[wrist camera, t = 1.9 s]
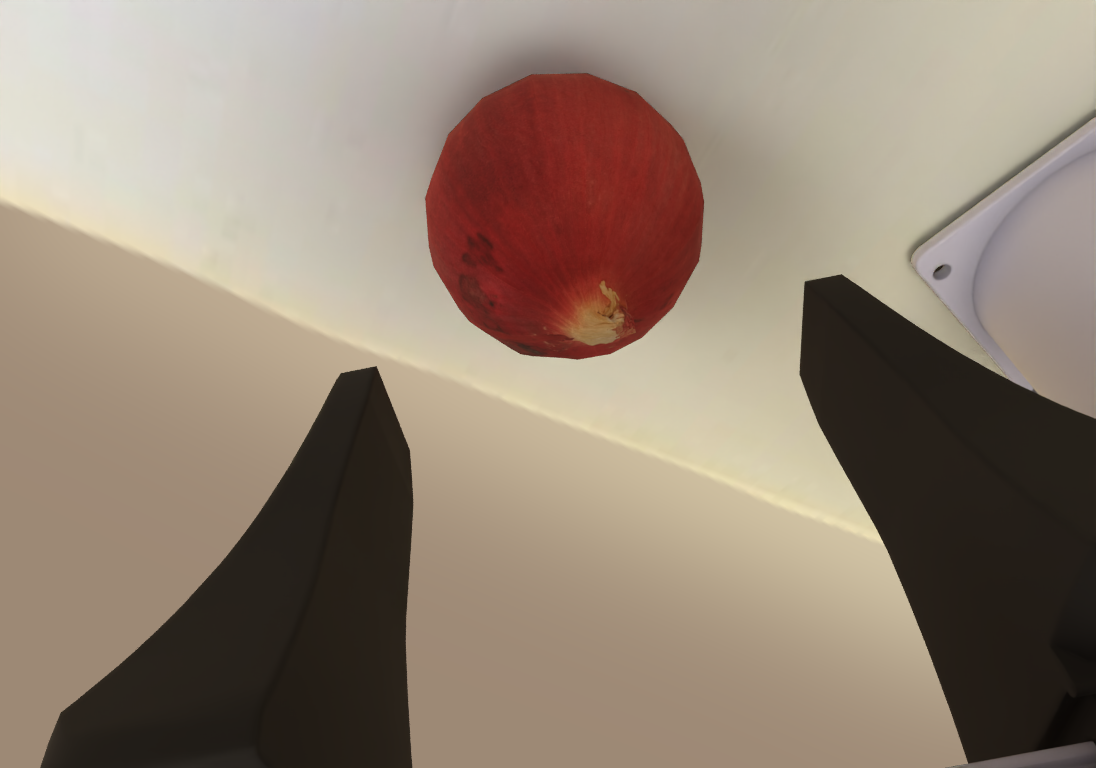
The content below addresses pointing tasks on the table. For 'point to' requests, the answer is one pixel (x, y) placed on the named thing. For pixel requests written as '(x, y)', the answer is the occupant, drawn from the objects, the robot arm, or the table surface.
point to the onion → (564, 216)
